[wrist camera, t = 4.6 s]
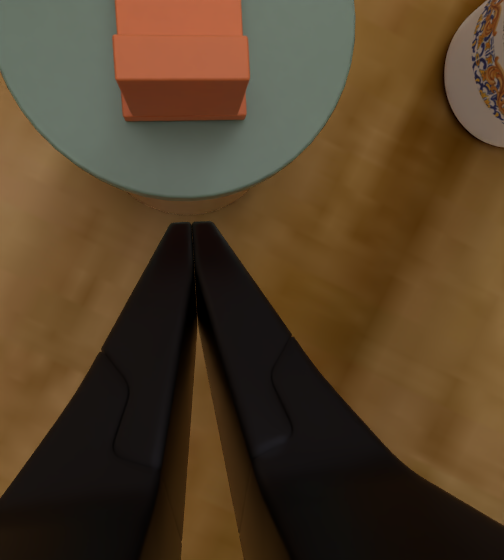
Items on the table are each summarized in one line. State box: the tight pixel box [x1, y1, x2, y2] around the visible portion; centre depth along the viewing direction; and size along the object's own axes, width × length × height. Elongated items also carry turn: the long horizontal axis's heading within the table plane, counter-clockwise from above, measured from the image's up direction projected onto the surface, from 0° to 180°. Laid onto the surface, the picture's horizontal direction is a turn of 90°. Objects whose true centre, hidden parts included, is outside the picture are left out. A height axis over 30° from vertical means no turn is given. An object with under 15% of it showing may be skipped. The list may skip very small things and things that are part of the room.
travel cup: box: [0, 0, 355, 215], centre depth 15 cm, size 9×9×10 cm
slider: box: [112, 0, 250, 121], centre depth 9 cm, size 3×3×3 cm
